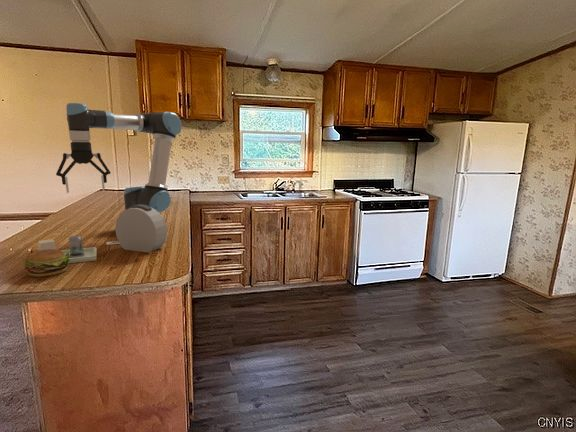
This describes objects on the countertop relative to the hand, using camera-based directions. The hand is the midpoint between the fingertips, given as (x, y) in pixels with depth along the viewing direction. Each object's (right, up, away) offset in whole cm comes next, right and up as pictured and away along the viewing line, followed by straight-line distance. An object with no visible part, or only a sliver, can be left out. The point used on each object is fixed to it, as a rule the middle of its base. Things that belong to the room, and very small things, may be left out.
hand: (86, 191), depth 152 cm
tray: (+3, -28, -11) cm, 30 cm away
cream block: (-13, -26, -6) cm, 30 cm away
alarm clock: (+23, -26, +4) cm, 35 cm away
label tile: (+7, -24, +11) cm, 27 cm away
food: (+3, -31, -28) cm, 42 cm away
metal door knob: (+3, -27, -12) cm, 30 cm away
